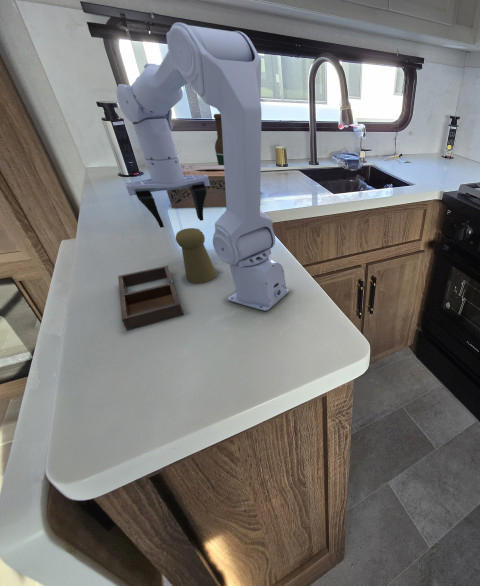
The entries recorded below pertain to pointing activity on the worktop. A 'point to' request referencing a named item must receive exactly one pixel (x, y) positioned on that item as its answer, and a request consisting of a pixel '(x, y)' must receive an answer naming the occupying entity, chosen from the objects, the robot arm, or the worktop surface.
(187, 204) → the tissue box cover
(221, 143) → the brown beer bottle
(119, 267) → the worktop surface
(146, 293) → the caddy
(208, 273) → the cork
